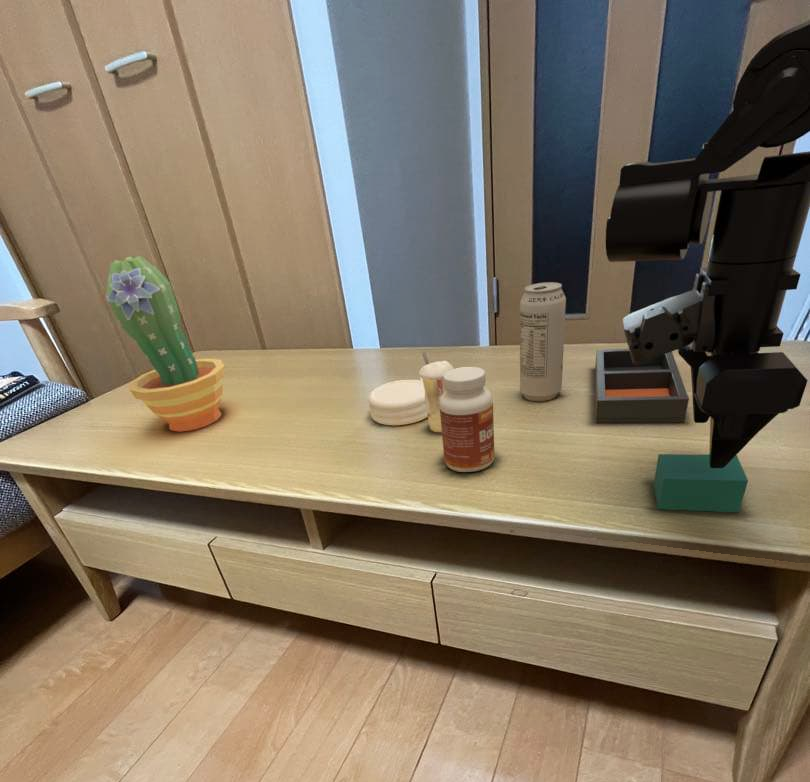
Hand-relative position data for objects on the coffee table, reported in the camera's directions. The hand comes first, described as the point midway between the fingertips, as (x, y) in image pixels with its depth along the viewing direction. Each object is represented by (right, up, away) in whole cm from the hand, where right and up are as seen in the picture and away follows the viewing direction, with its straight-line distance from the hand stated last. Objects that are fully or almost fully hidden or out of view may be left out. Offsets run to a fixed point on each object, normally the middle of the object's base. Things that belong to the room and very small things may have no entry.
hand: (707, 443), depth 48 cm
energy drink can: (-8, +13, +29) cm, 33 cm away
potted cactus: (-64, +11, +40) cm, 77 cm away
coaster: (-29, +10, +31) cm, 43 cm away
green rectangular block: (+1, -5, +4) cm, 6 cm away
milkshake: (-23, +7, +25) cm, 35 cm away
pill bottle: (-20, 0, +16) cm, 26 cm away
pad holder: (+4, +12, +25) cm, 29 cm away
